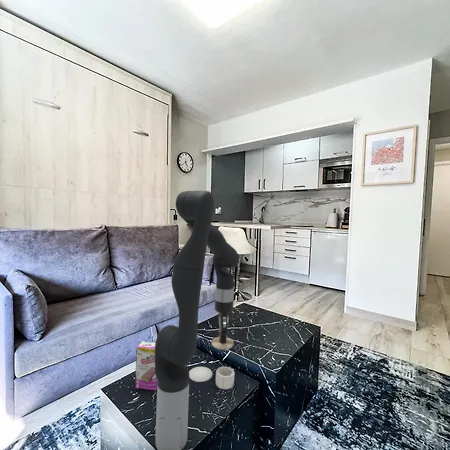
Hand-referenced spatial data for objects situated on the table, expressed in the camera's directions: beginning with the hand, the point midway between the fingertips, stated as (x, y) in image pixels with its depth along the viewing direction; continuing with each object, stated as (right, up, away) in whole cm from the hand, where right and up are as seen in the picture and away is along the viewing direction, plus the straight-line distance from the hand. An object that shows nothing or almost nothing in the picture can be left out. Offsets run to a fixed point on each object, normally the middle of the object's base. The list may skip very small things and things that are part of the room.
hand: (222, 340), depth 101 cm
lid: (0, -1, 0) cm, 1 cm away
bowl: (+1, -17, -1) cm, 17 cm away
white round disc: (-10, -17, +5) cm, 20 cm away
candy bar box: (-28, -16, -4) cm, 33 cm away
